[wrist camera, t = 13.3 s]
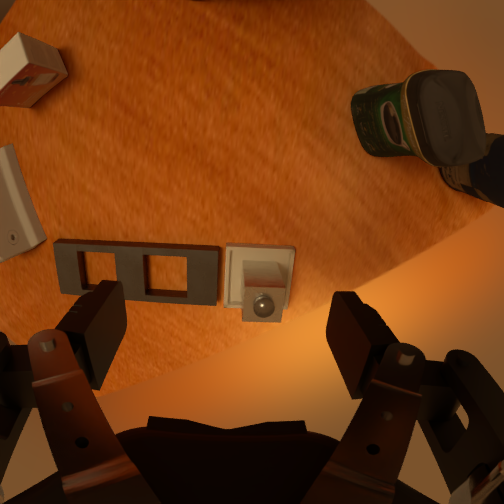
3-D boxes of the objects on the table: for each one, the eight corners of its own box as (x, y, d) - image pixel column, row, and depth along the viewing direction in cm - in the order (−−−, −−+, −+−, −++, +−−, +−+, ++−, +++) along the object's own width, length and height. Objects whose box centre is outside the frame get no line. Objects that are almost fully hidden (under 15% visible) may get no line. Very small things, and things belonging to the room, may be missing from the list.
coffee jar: (409, 147, 39) (501, 163, 22) (362, 161, 40) (444, 182, 22) (391, 82, 36) (480, 62, 18) (341, 92, 36) (417, 67, 19)
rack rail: (59, 238, 40) (52, 242, 38) (218, 245, 42) (218, 251, 40) (66, 287, 43) (60, 293, 41) (216, 298, 45) (216, 305, 43)
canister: (482, 146, 39) (565, 163, 22) (466, 198, 42) (546, 232, 25) (443, 119, 38) (532, 124, 21) (426, 176, 41) (512, 204, 24)
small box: (29, 108, 33) (-15, 107, 23) (19, 81, 31) (-25, 74, 22) (70, 75, 33) (28, 63, 23) (58, 47, 31) (18, 30, 21)
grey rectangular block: (242, 259, 43) (245, 289, 35) (276, 261, 43) (286, 291, 35) (240, 290, 44) (242, 325, 36) (272, 291, 45) (281, 326, 37)
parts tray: (226, 242, 42) (226, 246, 41) (293, 246, 43) (295, 249, 42) (223, 302, 45) (223, 307, 44) (285, 304, 46) (287, 309, 45)
